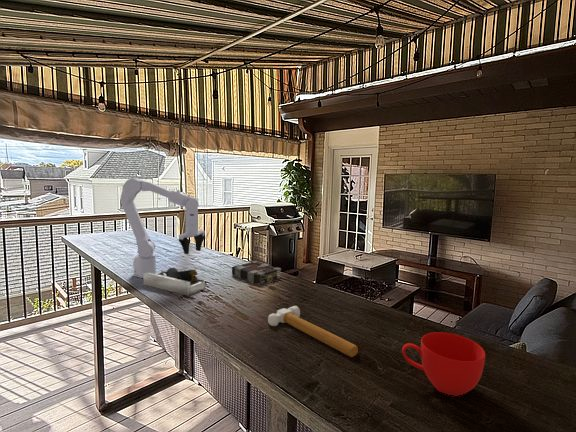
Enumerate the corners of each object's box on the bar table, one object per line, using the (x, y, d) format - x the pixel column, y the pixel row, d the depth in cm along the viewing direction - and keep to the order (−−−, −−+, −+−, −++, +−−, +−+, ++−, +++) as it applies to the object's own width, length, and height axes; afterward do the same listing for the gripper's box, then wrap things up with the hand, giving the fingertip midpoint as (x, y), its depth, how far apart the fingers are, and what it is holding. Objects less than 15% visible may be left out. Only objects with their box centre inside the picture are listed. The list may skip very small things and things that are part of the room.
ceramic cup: (399, 363, 86) (402, 326, 84) (473, 376, 81) (477, 336, 79) (401, 395, 73) (404, 352, 72) (488, 412, 68) (493, 366, 67)
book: (255, 270, 166) (255, 260, 165) (292, 281, 149) (292, 270, 148) (231, 276, 155) (231, 265, 154) (268, 289, 138) (268, 277, 137)
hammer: (366, 351, 93) (292, 314, 115) (367, 338, 92) (292, 303, 114) (339, 367, 85) (265, 324, 107) (340, 353, 84) (265, 313, 106)
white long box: (143, 284, 141) (143, 272, 140) (162, 278, 149) (161, 267, 149) (187, 295, 129) (187, 283, 128) (204, 288, 137) (204, 276, 137)
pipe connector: (192, 264, 153) (199, 273, 140) (192, 276, 154) (200, 286, 141) (165, 268, 148) (170, 277, 135) (166, 279, 149) (171, 290, 136)
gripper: (186, 226, 147) (187, 256, 149) (209, 222, 160) (209, 250, 161) (175, 224, 150) (175, 254, 152) (198, 220, 163) (198, 248, 165)
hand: (192, 252), depth 157 cm, fingers open, 7 cm apart
